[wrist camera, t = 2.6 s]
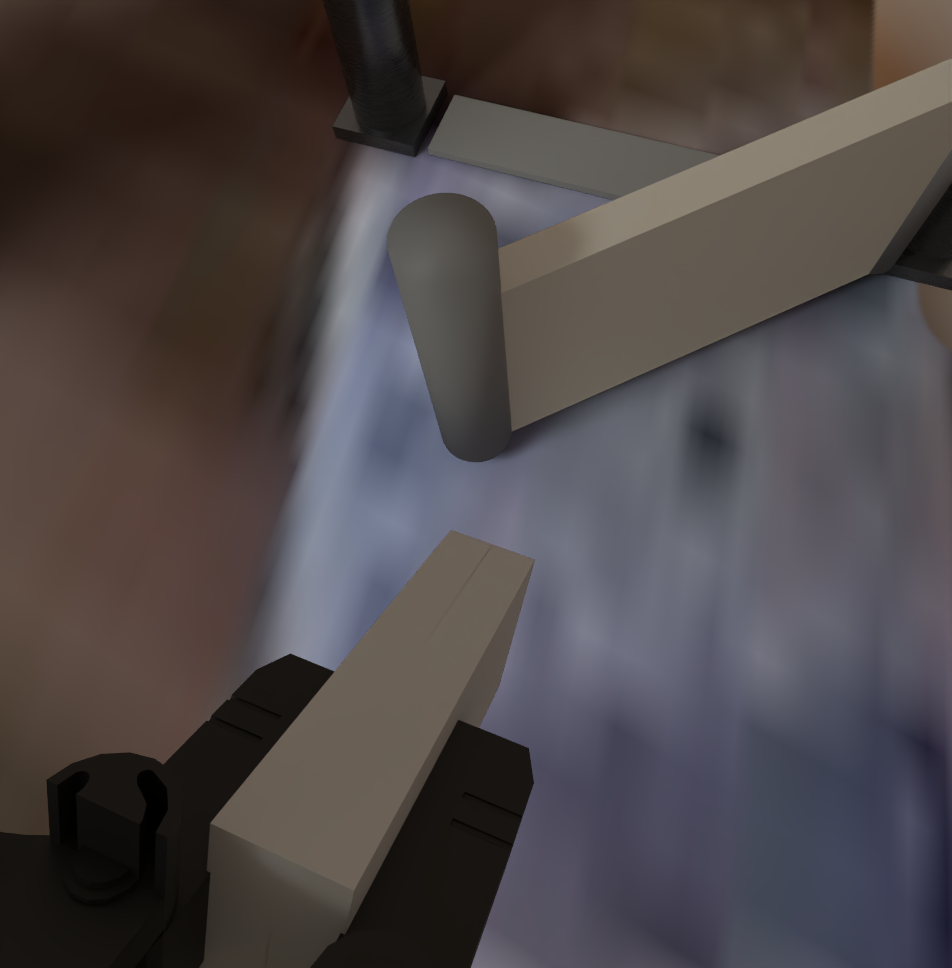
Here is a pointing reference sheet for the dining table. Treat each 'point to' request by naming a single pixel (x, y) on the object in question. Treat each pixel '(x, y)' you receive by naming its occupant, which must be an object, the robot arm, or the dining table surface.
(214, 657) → the dining table surface
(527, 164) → the strip
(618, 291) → the gate
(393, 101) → the post
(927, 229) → the hinge post
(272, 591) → the dining table surface
